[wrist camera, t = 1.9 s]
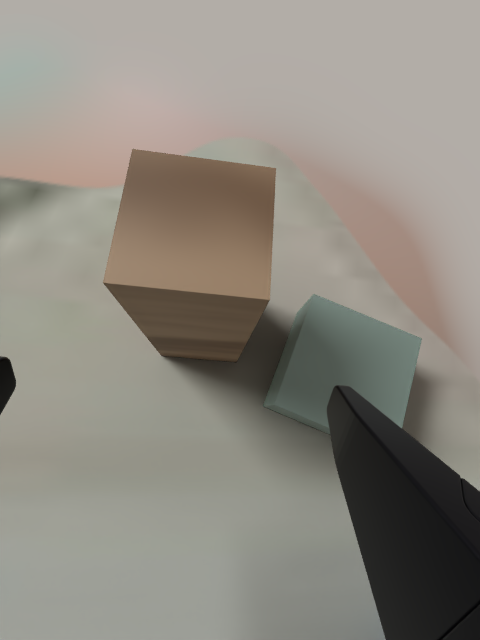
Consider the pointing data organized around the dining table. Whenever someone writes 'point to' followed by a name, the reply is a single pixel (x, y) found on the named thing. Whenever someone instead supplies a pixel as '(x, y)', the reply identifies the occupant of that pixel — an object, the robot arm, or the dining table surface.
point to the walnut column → (193, 252)
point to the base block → (342, 363)
